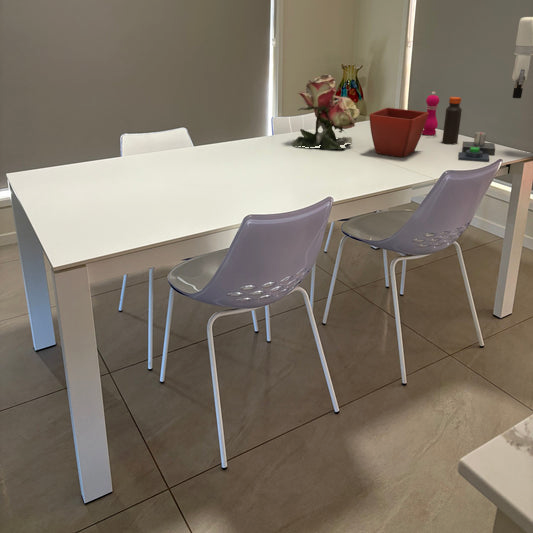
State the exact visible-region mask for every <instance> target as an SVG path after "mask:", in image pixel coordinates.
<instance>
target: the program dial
mask: <svg viewBox="0 0 533 533" xmlns="http://www.w3.org/2000/svg"><path fill="white" fill-rule="evenodd" d="M486 137H487V133H486V132H484V131H483V132H482V131H476V132H474V139H473V142H474V145H476V146H484V144H485V143H486Z"/></svg>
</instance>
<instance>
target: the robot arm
mask: <svg viewBox="0 0 533 533" xmlns="http://www.w3.org/2000/svg"><path fill="white" fill-rule="evenodd" d="M513 52H514V53H513V55H515V62H514V64H513V71H512V76H511V79H512V81H513V82H515V83H514V87H513V91H512V98H513V99H522V95H523V91H524V88H523V87H524V82H526V81H527V79H528V75H529V69H530V64H531V58H532V56H533V16H524V17H521V18H520V19H519V22H518V27H517V35H516V41H515V46H514V51H513Z"/></svg>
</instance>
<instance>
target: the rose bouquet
mask: <svg viewBox="0 0 533 533" xmlns="http://www.w3.org/2000/svg"><path fill="white" fill-rule="evenodd" d="M335 80H336V78H334V77H332V75H331V74H324V73H323V74H322V75H320V76H318V77H316V78H314V80H311V79H309V80H308V83H307V84H306V85H305V86H306V88H305V91H300V92H297V94H298V95H300V96H301V98H302V101H303V103H304V104H306V106H307V107H300V108H298V109H297V111H311V110H313V112H314V117H316V120H315V132H314V133H313V132H311V131H308V130H305V129H302V128H300V130H299V132H300V133H301V136H300V135H299V136H297V138H296V139H294V140H293V141H292V147H293V146H301V148H300V149H306V148H305V147H309V148H310V147H315V146H319V145H321V146H320V148H321V149H320V150H322V149H324V150H329V149H338V150H342V149H344V150H343V151H346V150H347V148H341V147H340V145H344V144H345V143H351V144H352V143H353V138H352V137H351V136H349V137H347V136H342V137H337V136H336V133H335V131H334V130H338V133H343V132H344V133H345V134H347V132H346V131H345V130H348V129H352V128H354V127H355V124H356V123H357V120H358V118H359V116H360V111H361V110H360V109H359V108H357V105H355V101H353V100H352V99H351V97H346V96H339V95H335V94H336V91H337V89H336V81H335ZM320 127H321V129H322V131H321V132H320V131H319V128H320ZM333 128H334V130H333ZM336 138H338V139H336ZM302 146H305V147H302ZM295 148H297V147H295Z"/></svg>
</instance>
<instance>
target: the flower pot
mask: <svg viewBox="0 0 533 533" xmlns="http://www.w3.org/2000/svg"><path fill="white" fill-rule="evenodd" d="M427 116H428V112H427V111H420V110H412V109H405V108H404V109H403V108H394V107H384V108H382V109H379V110H377V111H373V112H372V113H369V125H370V126H369V127H370V134H371V138H372V143H373V146H374V152H375V153H376V154H380V155H386V156H390V157H391V156H392V157H398V158H405V157H407V156H408V155H410V154H412V153H414V152H415V150H416V148H417V147H418V145H419V142H420V140H421V137H422V135H423V134H422V132H423V130H424V126H425V123H426V120H427Z"/></svg>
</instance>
